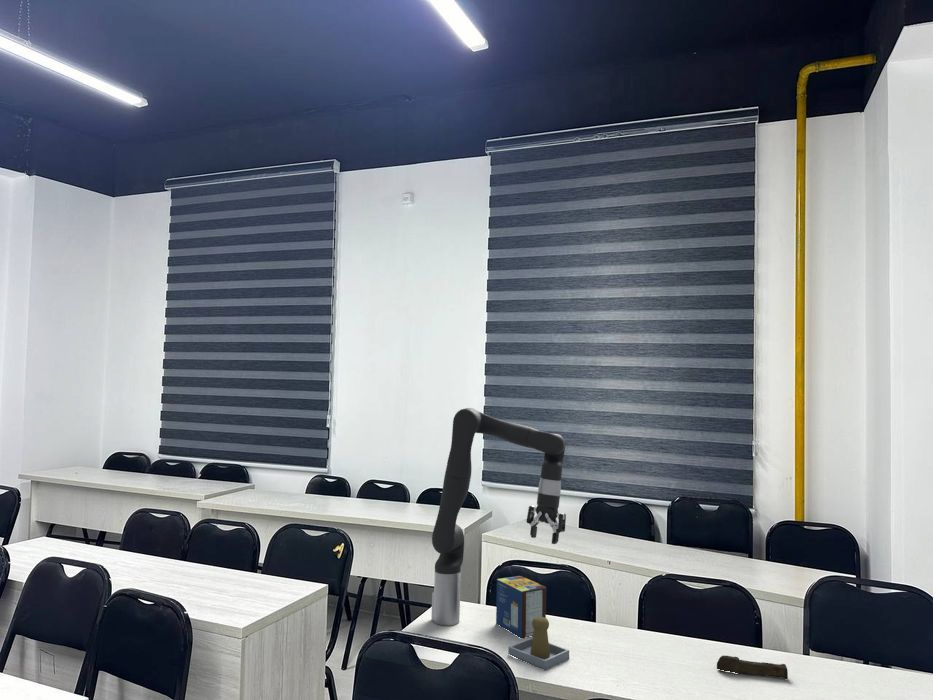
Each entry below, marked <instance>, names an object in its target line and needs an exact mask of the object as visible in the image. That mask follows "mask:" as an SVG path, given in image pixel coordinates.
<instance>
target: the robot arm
mask: <svg viewBox="0 0 933 700" xmlns="http://www.w3.org/2000/svg"><path fill="white" fill-rule="evenodd" d="M475 434H483V435H490V436H492V437H493V436H494V437H496V438H498V439H501V440H504V441H505V442H508V443H511V444H513V445H517V446H520V447H524V448H528V449H534V450H536V451H539V452H542V453H544V456H543V463H542V464H541V471H540V479H539V483H538V490H537V498H536V499H537V500H536V505H537V506H535V505H529V506H528V509H527V516H526V523H527V524H529V525H530V533H529V534H530V537H531V538H532V539H535V538H537V535H538V534H537V533H538V525H539V524H540V523H545V524H548V525H549V526H550V527H551V529H552V536H551V544H553V545H556V544H558V543H559V539H560V538H559V537H560V533H564V532H566V521H567V518H566V517H567V515H566V513H563V512H562V513H560V512H559V507H560V500H561V492H562V491H561V489H562V475H563V462H564V457H565V453H566V452H565V450H566V440H565V438H564V437H563V436H562V435H560V434H559V433H550V432H546V431H542V430H538V429H536V428H534V427H530V426H527V425H522V424H519V423H515V422H509V421H505V420H502V419H499V418H496V417H493V416H490V415H488V414H486V413H483V412H480V411H479V410H477V409H475V408H473V407H467V408H463V409H462V408H461V409H460V410H458V411H457V412H455V414H454V417H453V419H452V432H451V442H450V443H451V444H450V449H449V454H448V457H447V463H446V468H445V473H444V478H443V485H442V491H441V497H440V501H439V510H438V512H437V516H436V520H435V523H434V528H433V531H432V534H431V535H432V536H431V543H432V546H433V549H434V550H435V552H437V553H438V554H439V555H438V558H437V560H436V561H435V562H434V563H435V564H434V583H433V585H434V588H433V589H434V591H432V593H431V618H430V619H431V621H433V622H434V624H436V625H439V626H454V625H457V624H459V623H460V614H461V613H460V611H461V609H460V608H461V579H462V578H461V577H462V576H461V572H462V571H461V569H462V565H463V562H464V556H465V555H464V554H465V553H464V550H465V535H464V534H465V533H464V532H463V528H462V527H461V526H460V525H459V524H457V518H458V515H459V512H460V510H461V507H462V506H463V504H464V502H465V501H466V498H467V495H468V493H469V489H470V484H471V479H472V447H473V446H472V445H473V442H474V437H475ZM535 514H536V516H535ZM557 519H558V520H557Z"/></svg>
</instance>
